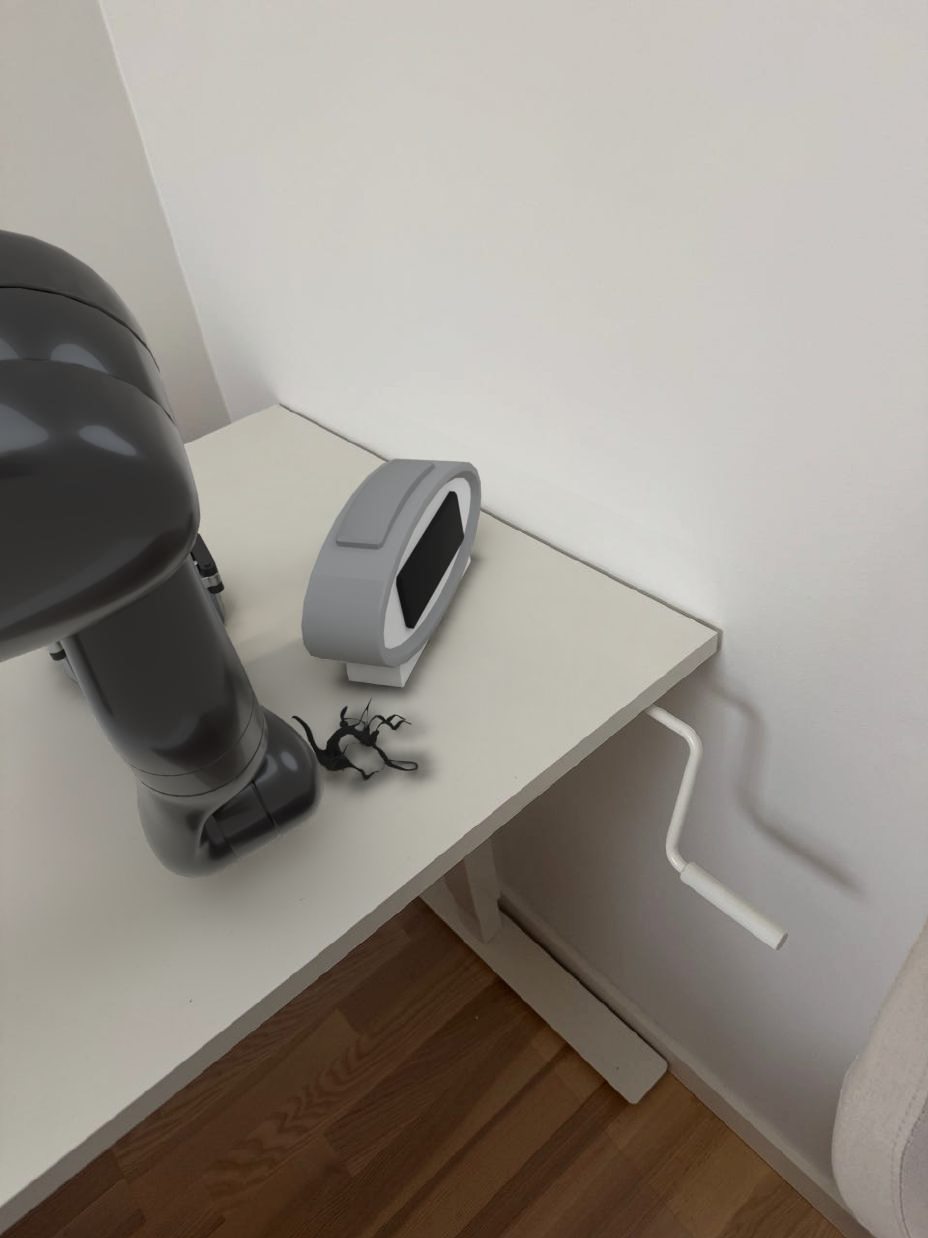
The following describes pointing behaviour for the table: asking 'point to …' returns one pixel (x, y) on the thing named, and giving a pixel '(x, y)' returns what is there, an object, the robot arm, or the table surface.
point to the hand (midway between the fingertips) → (105, 552)
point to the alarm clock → (391, 567)
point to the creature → (332, 752)
